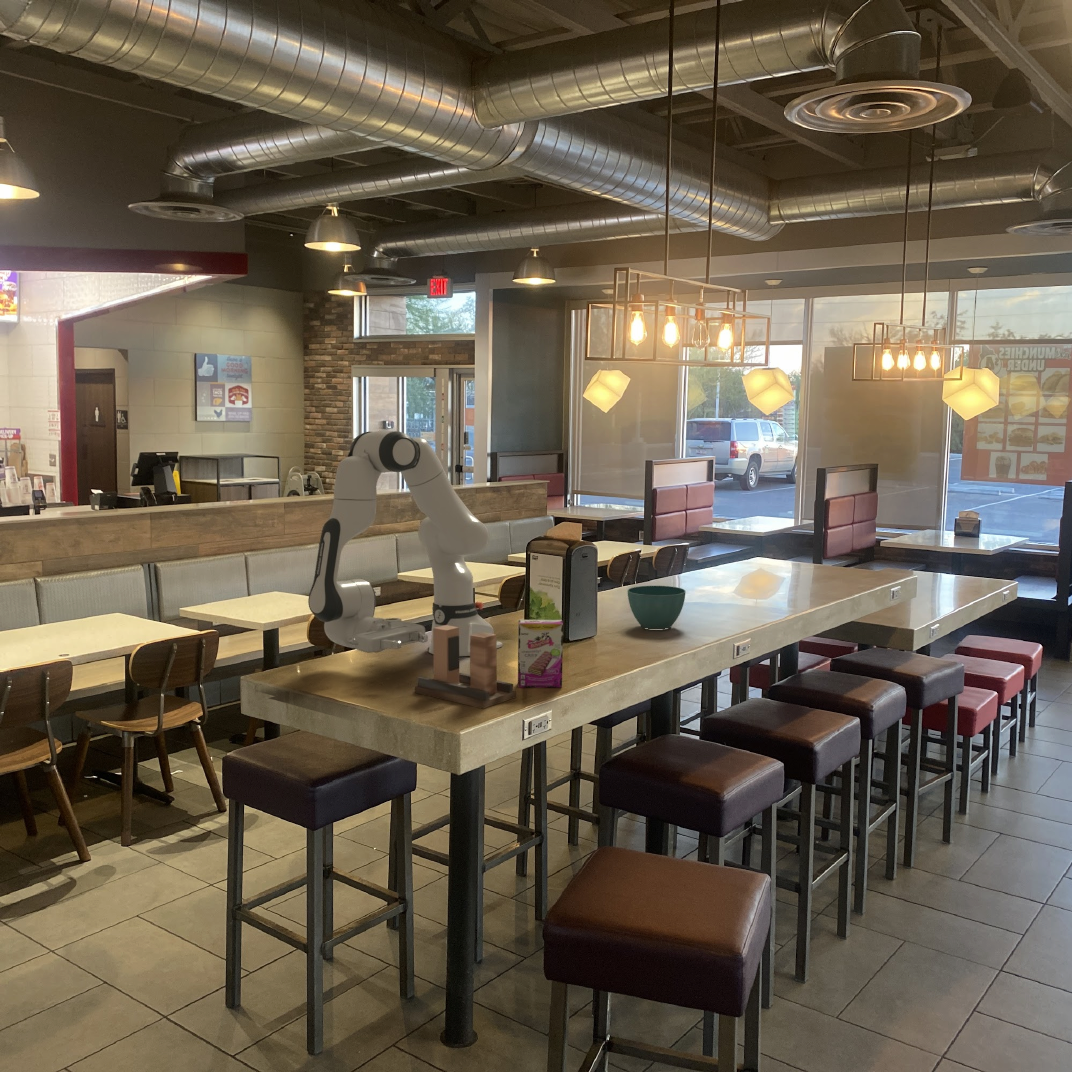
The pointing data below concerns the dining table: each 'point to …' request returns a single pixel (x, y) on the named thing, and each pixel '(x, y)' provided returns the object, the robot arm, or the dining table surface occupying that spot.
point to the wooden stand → (473, 678)
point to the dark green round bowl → (656, 605)
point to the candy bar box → (540, 653)
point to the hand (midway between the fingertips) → (412, 642)
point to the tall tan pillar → (446, 653)
